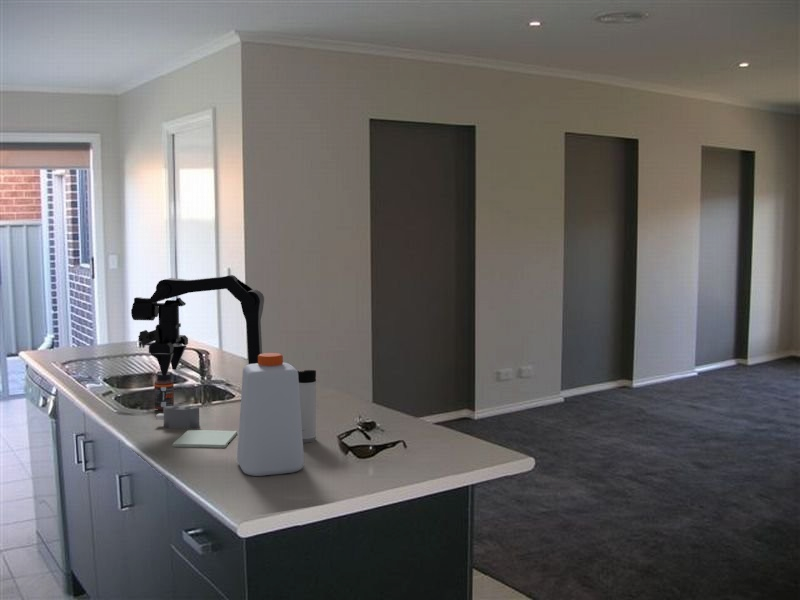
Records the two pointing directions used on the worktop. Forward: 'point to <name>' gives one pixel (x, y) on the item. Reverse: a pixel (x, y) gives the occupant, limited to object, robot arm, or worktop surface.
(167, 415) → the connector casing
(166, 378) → the supplement bottle
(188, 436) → the sage board
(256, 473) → the plastic bottle
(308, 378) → the travel mug
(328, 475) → the worktop surface
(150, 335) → the robot arm
